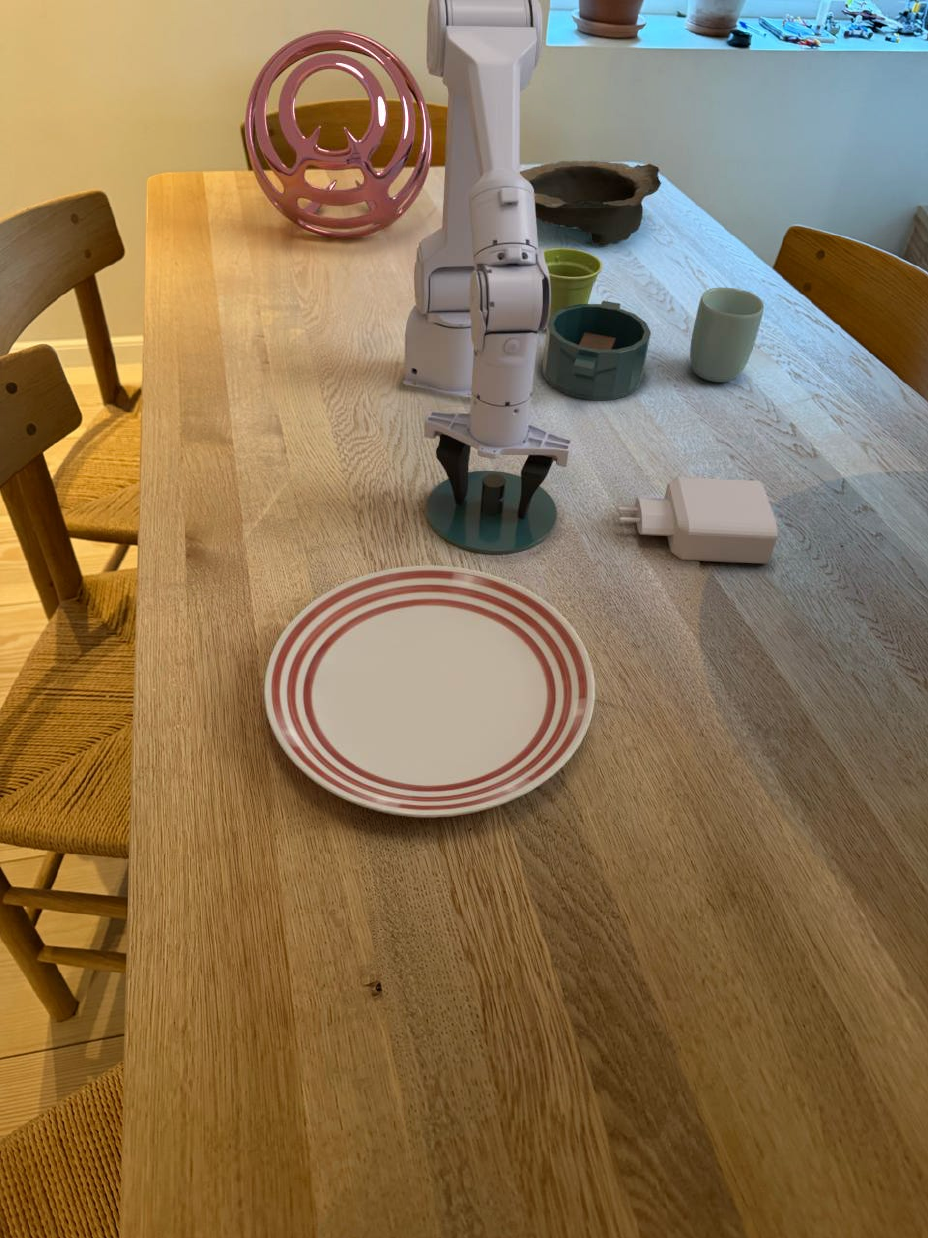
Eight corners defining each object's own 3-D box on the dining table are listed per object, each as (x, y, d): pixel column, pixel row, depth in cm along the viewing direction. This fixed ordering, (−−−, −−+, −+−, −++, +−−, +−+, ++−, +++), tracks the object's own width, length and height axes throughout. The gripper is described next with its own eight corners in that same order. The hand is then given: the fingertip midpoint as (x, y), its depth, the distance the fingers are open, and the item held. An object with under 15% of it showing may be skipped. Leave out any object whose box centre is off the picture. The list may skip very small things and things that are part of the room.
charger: (610, 505, 103) (749, 512, 103) (618, 561, 96) (767, 568, 96) (617, 469, 99) (760, 476, 99) (626, 524, 93) (780, 531, 93)
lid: (408, 541, 97) (408, 504, 93) (449, 468, 106) (450, 431, 103) (538, 571, 94) (543, 534, 91) (568, 494, 104) (573, 457, 100)
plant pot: (516, 330, 130) (521, 268, 124) (538, 302, 136) (544, 242, 130) (581, 345, 128) (590, 283, 122) (601, 316, 134) (610, 255, 128)
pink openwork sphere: (288, 47, 154) (261, -37, 127) (452, 108, 157) (460, 38, 130) (240, 220, 158) (204, 174, 132) (401, 277, 161) (398, 243, 135)
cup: (744, 393, 121) (765, 319, 114) (682, 384, 122) (699, 310, 115) (744, 363, 126) (764, 291, 119) (684, 355, 127) (701, 283, 120)
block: (573, 375, 121) (578, 346, 118) (580, 360, 124) (584, 331, 121) (604, 381, 120) (609, 352, 118) (610, 366, 123) (615, 337, 120)
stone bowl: (666, 258, 149) (674, 197, 142) (506, 262, 149) (506, 201, 143) (647, 195, 166) (653, 139, 160) (503, 199, 167) (503, 143, 160)
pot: (526, 399, 117) (531, 351, 113) (559, 334, 130) (565, 288, 125) (627, 419, 115) (637, 371, 110) (651, 351, 128) (660, 305, 123)
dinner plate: (484, 899, 68) (487, 875, 66) (197, 731, 78) (190, 704, 76) (642, 667, 85) (649, 641, 83) (391, 553, 95) (391, 527, 93)
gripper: (414, 396, 88) (413, 513, 98) (567, 427, 86) (551, 544, 95) (438, 360, 93) (434, 475, 103) (583, 389, 91) (566, 504, 100)
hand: (491, 506), depth 99 cm, fingers open, 6 cm apart
